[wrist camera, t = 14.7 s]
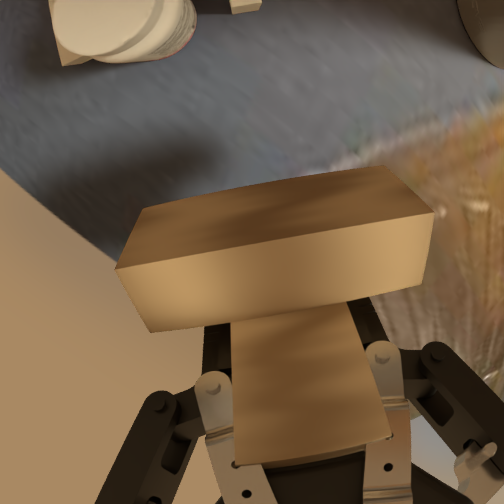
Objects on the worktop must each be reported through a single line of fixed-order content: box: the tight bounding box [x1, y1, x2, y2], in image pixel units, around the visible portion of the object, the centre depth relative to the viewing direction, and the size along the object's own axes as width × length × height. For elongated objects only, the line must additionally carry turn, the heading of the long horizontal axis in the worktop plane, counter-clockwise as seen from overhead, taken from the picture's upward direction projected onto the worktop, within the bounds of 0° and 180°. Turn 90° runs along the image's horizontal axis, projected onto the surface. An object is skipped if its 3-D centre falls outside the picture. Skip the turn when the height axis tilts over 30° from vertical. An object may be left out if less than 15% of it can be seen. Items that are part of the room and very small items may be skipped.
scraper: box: [115, 165, 435, 469], centre depth 10 cm, size 10×7×9 cm
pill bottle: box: [52, 0, 197, 63], centre depth 10 cm, size 5×5×8 cm
